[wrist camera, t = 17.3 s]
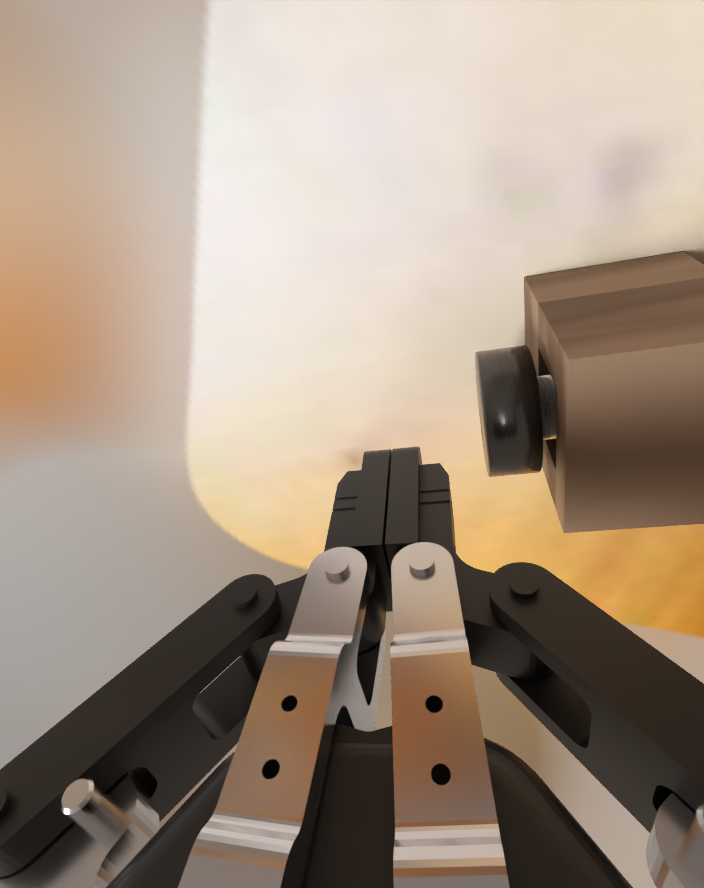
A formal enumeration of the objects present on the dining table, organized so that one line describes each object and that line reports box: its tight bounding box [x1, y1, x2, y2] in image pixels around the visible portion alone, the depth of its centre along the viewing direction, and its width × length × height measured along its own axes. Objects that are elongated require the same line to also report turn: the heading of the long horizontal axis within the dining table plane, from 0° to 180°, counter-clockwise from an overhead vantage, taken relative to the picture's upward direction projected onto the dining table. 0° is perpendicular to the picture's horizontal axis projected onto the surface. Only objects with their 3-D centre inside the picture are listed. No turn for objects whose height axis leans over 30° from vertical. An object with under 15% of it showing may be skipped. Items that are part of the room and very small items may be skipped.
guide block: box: [524, 251, 704, 533], centre depth 16 cm, size 6×5×7 cm
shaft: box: [475, 345, 557, 477], centre depth 16 cm, size 4×10×4 cm, turn 101°
